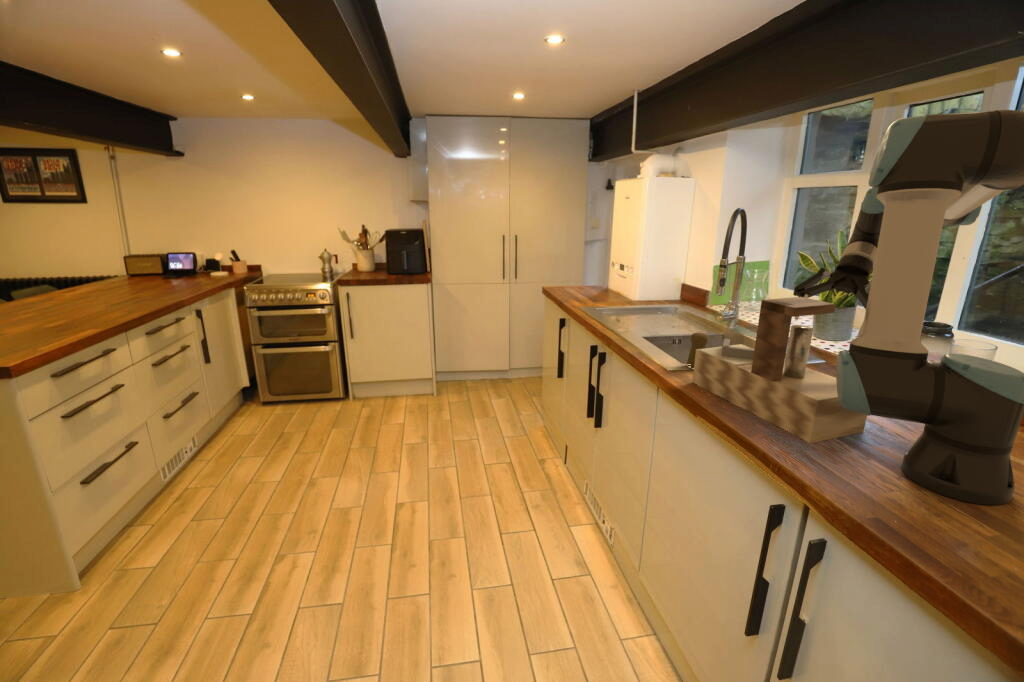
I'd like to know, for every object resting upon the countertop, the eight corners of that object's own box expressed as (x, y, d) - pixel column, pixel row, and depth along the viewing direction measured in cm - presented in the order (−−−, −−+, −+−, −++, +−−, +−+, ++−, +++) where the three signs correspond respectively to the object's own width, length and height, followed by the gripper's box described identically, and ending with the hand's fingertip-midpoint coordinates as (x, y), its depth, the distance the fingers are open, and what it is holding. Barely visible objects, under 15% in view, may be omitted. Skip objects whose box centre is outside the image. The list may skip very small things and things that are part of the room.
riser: (863, 432, 106) (872, 390, 103) (809, 443, 101) (818, 400, 98) (736, 376, 141) (741, 344, 138) (692, 382, 136) (696, 349, 133)
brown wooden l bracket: (821, 379, 110) (836, 303, 105) (781, 385, 107) (795, 307, 102) (788, 367, 118) (800, 296, 113) (751, 372, 115) (761, 300, 110)
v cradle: (778, 360, 124) (780, 349, 123) (735, 366, 119) (737, 355, 119) (738, 345, 136) (739, 336, 136) (698, 350, 132) (699, 340, 131)
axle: (807, 379, 110) (816, 330, 107) (786, 378, 111) (795, 329, 108) (800, 373, 114) (808, 325, 111) (780, 371, 115) (788, 324, 112)
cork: (703, 371, 145) (707, 337, 142) (683, 367, 148) (687, 333, 145) (708, 366, 149) (713, 332, 146) (689, 362, 153) (693, 329, 150)
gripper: (910, 286, 118) (884, 350, 111) (800, 262, 132) (771, 318, 125) (921, 265, 112) (893, 332, 105) (805, 243, 126) (774, 300, 119)
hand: (827, 325), depth 115 cm, fingers open, 13 cm apart
